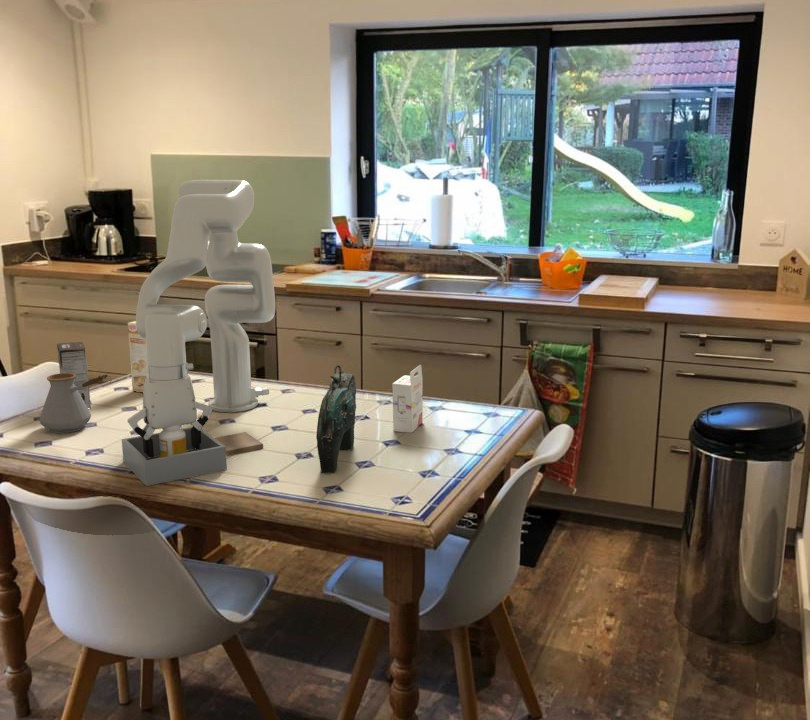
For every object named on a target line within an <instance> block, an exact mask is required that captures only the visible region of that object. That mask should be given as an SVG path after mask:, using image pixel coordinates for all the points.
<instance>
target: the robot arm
mask: <svg viewBox="0 0 810 720" xmlns="http://www.w3.org/2000/svg"><path fill="white" fill-rule="evenodd" d="M177 193H178V194H177V195H178V198H177V200H176V202H175V203H174V206H173V212H172V219H171V225H170V226H171V227H170V233H169V239H168V244H167V245H168V246H167V253H166V256H165V259H163V260H162V261H161V262H160V263H159V264H158V265H157V266H156V267H155V268H154V269H153V270H151V272H150V274H149V275H148V276H147V277H146V279H145V280H144V282H143V283H142V284H141V287H140V290H139V293H138V300H137V301H138V302H137V306H136V313H135V321H136V328H137V331H138V333H139V334H140V336H141V337H143V338H145V339H146V344H147V358H148V372H149V379H145V383H144V392H143V393H142V394H143V395H142V408H141V410H139V411H138V412H136V413H134V414H133V415H132V416H131V417H129V418H128V419H127V423H128V425H129V426H130V427H131V429H132V430H133V431H134V432H135V433H136V435H137V436H141V437H143V449H144V453H145V454H147V455H148V456H149V457H150V458H149V459H154V458H155V457H154V449H153V440H152V439H151V435H152V434H154V432H155V431H156V430H160V429H162V428H168V427H171V426H176V425H182V426H184V425H191V427H192V428H191V444H192V446H193V447H194V448H195V450H198V449H200V444H201V430H202V429H203V428H204V426H205V425H206V424H207V422H208V421H209V418H210V415H211V413H212V411H215V412H219V413H237V412H244V411H248V410H252V409H254V408H256V407H257V406H258V405H259V400H258V398H259V396H260V397H261V396H269V394H270V389H269V387H262V388H261V387H260V386H258V387H253V386H252V377H251V376H252V375H251V359H250V358H251V355H250V354H251V353H250V340H249V337H248V334H247V332H246V330H245V329H244V328H243V327H242V325H241V324H243V323H245V324H246V323H248V324H249V323H252V324H256V323H257V324H260V323H261V324H262V323H263V324H264V323H268V322H270V321H272V320H273V319H274V317H275V313H276V295H275V286H274V275H273V265H272V258H271V255H270V252H269V250H268V249H267V247H266V246H264V245H262V244H261V243H260V244H259V243H242V242H240V241H239V237H238V230H240V229H241V227H243V225H244V224H245V222H246V221H247V219H248V218H249V217H250V216H251V215H252V212H253V210H254V207H255V200H256V199H255V191H254V188H253V187H252V185H251V184H250V183H249V182H248V181H246V180H241V179H193V180H187V181H184V182H182V183H181V184H180V185H179V187H178V191H177ZM204 268H206V272H207V275H208V277H209V278H210V279H211V280H213V281H215V282H222V283H250V284H219V285H215V286H212V287H210V288H209V289H207V291H206V293H205V297H204V306H205V307H204V308H205V311H204V310H203V309H202V308H201V307H199V306H197V305H195V304H167V303H165V304H163V303H162V304H158V302H159V299H160V297H161V295H162V294H163V292H164V291H166V289H168V288H169V287H171V285H173V284H175V283H177V282H180V281H181V280H184V279H186V278H188V277H190V276H192V275H194V274H198V273H199V272H202V270H203V269H204ZM205 312H206V313H205ZM207 326H209V333H210V334H209V335H210V347H211V364H212V379H213V380H212V381H213V382H212V383H213V399H210V401H208V405H207V404H205V403H201V402H199V401H196V395H195V392H194V391H195V390H194V386H193V382H192V379H191V376H190V374H189V371H191V370H194V364H193V363H192V362H191V363H189V362H187V355H186V342H192V341H196V340H198V339H200V338H201V337H202V336H203V335H204V333H206V331H207ZM198 410H200V411H202V414H201V415H200V416H199V417H198V412H197V411H198ZM142 419H143V422H144V423H145V425H144V427H143V428H142V427H140V426H139V424H138V422H140V421H141V420H142ZM162 430H163V429H162ZM203 430H204V429H203Z"/></svg>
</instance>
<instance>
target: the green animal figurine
mask: <svg viewBox="0 0 810 720" xmlns="http://www.w3.org/2000/svg"><path fill="white" fill-rule="evenodd" d="M337 368H338V371H339V372H338V373H337ZM333 373H334V374H333V375H330V376H329V377H330V378H331V379H330V381H329V386H328V387H329V388H328V389H327V391H326V393H325V394H324V396H323V398H322V401H321V402H320V407H319V413H318V417H317V424H316V425H317V426H316V436H315V437H316V448H317V454H318V460H319V468H320V472H321V473H322V474H323V473H324V474H334V473H335V472H337V470H338V465H339V463H338V462H339V455H340V451H352V448H353V447H354V444H355V424H356V409H357V401H356V397H357V387H356V386H357V384H356V383H357V382H356V377H355V375H354V374H352V373H345V372H344V371H343V370H342V367H341V366H340V365H338V364H336V365H335V366H333Z"/></svg>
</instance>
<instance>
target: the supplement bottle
mask: <svg viewBox="0 0 810 720" xmlns="http://www.w3.org/2000/svg"><path fill="white" fill-rule="evenodd" d="M182 426H183V425H176V426H171V427H168V428H162V430H161V431H160V432H158V433H159V445H160V456H159V458H161V457H166V456H171V455H177V454H182V453H187V452H188V451H187V447H186V434H185V431H184V430H182V429H183V427H182Z"/></svg>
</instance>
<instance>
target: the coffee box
mask: <svg viewBox="0 0 810 720" xmlns="http://www.w3.org/2000/svg"><path fill="white" fill-rule="evenodd" d="M56 348H57V356H58V358H57V359H58V367H59V374H61V373H72V374H75V375H76V377H75V378H74V385H75V387H76V386H79V385H81V384H83V383H85V382H87V381H89V372H88V361H87V352H86V351H87V349H86V347H85V345H84V342H83V341H77V342H72V341H71V342H59V343H57V344H56ZM78 392H79V393H80V395H81V397H82V399H83V400H84V402H85V404H86V406H87V407H88V408H90V409H91V407H92V406H91V395H90V385H89V386H86V387H83V388H81V389H78Z"/></svg>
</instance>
